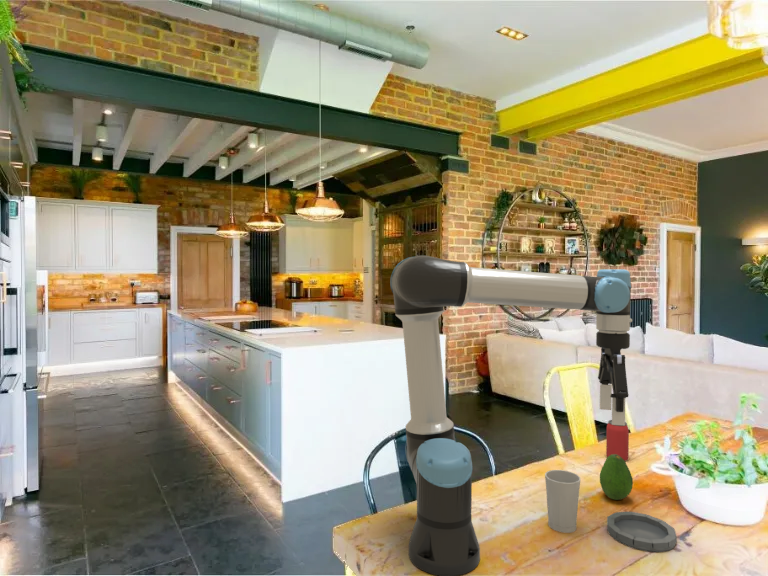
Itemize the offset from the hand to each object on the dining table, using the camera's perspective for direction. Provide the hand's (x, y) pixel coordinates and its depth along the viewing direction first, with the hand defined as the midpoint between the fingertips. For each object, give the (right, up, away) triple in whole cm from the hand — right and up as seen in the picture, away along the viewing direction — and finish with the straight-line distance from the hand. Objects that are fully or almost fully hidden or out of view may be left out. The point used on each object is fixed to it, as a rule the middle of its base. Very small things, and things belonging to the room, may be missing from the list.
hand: (611, 416), depth 122 cm
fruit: (+6, -25, +10) cm, 27 cm away
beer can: (+20, -24, +38) cm, 49 cm away
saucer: (+3, -25, -9) cm, 27 cm away
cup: (-14, -25, -4) cm, 29 cm away
